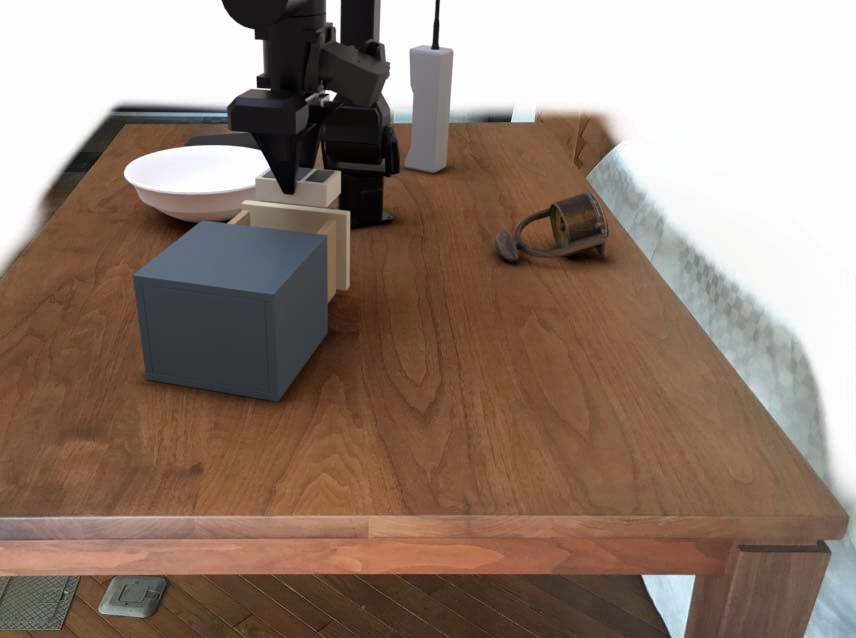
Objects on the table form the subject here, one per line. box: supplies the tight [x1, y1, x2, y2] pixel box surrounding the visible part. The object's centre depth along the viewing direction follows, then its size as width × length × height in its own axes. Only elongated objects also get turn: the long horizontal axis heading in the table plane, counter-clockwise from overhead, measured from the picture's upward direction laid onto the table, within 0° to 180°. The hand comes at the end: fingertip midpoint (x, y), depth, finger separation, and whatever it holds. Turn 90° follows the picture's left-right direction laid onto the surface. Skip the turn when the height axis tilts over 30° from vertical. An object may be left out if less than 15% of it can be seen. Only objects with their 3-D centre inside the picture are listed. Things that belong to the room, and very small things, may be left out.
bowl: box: [123, 145, 269, 224], centre depth 115 cm, size 20×20×6 cm
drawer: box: [227, 200, 351, 303], centre depth 91 cm, size 16×11×8 cm
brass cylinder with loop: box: [494, 191, 610, 263], centre depth 103 cm, size 7×13×10 cm
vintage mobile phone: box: [404, 0, 455, 175], centre depth 127 cm, size 4×5×25 cm
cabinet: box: [132, 221, 329, 403], centre depth 81 cm, size 14×13×10 cm
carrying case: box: [183, 132, 261, 151], centre depth 136 cm, size 11×3×15 cm
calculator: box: [255, 167, 341, 208], centre depth 87 cm, size 7×5×2 cm, turn 73°
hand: (297, 186), depth 87 cm, fingers closed on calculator, 4 cm apart
